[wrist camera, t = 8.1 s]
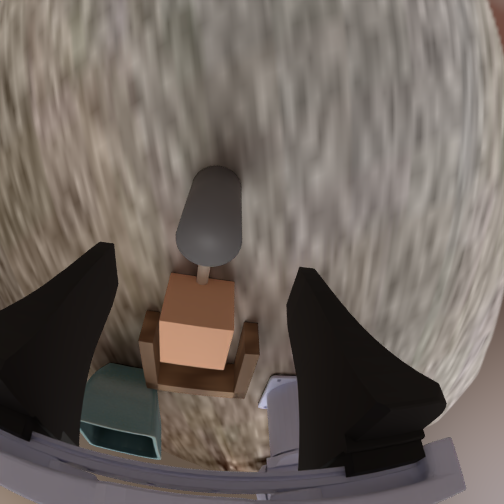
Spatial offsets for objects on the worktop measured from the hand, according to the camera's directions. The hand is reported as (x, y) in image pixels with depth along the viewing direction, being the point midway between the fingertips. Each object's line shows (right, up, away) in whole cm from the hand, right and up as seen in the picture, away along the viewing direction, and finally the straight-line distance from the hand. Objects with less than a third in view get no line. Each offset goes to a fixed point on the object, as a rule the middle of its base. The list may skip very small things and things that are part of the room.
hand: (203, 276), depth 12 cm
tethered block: (-2, +1, +11) cm, 11 cm away
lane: (-3, -8, +17) cm, 19 cm away
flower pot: (-12, -14, +21) cm, 28 cm away
